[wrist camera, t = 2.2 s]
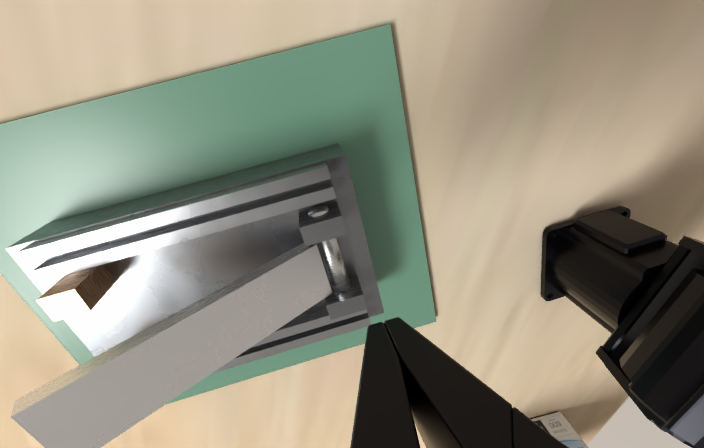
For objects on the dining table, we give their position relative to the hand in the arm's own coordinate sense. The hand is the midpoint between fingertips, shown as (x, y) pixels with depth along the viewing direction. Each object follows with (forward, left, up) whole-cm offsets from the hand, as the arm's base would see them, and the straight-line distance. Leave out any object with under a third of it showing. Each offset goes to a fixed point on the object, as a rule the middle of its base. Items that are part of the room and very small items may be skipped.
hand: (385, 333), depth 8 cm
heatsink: (-3, +7, -12) cm, 15 cm away
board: (-3, +7, -12) cm, 15 cm away
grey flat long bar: (-3, +7, -6) cm, 9 cm away
